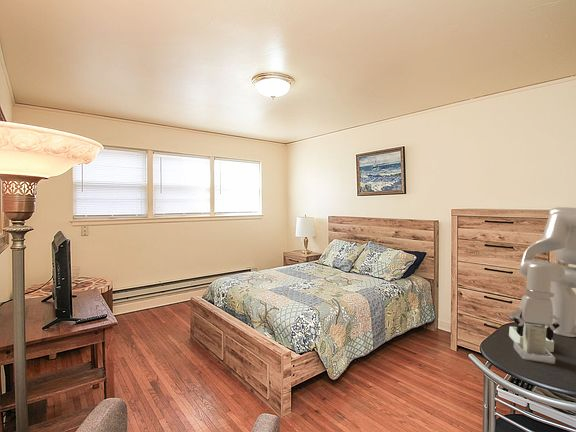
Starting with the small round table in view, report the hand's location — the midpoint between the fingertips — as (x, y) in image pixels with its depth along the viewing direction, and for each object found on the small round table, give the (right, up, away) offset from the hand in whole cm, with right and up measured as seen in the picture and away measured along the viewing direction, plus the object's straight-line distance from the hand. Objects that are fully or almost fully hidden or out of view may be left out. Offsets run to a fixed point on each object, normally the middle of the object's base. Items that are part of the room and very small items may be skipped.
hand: (534, 337), depth 127 cm
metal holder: (0, -8, +1) cm, 8 cm away
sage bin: (+7, -7, +12) cm, 15 cm away
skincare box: (0, -8, +1) cm, 8 cm away
